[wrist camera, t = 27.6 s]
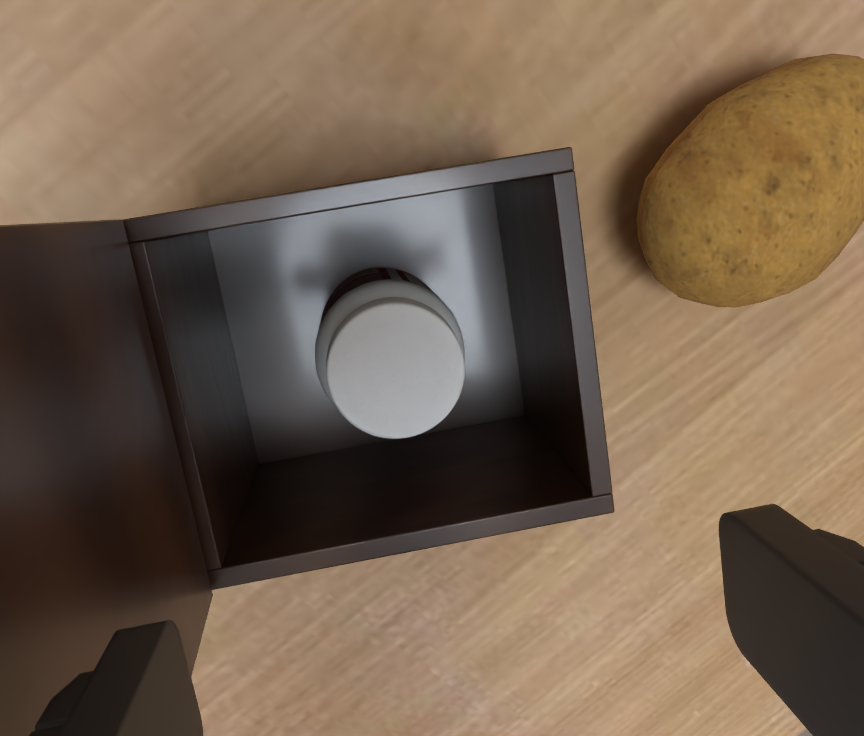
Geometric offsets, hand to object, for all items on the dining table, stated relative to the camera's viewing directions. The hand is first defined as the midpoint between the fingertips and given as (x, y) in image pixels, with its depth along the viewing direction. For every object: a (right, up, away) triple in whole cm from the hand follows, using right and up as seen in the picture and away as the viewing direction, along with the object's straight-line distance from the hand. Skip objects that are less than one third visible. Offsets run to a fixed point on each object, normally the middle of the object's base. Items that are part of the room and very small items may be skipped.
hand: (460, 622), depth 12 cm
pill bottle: (-3, +6, +29) cm, 30 cm away
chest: (-3, +6, +29) cm, 30 cm away
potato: (+15, +13, +30) cm, 36 cm away
